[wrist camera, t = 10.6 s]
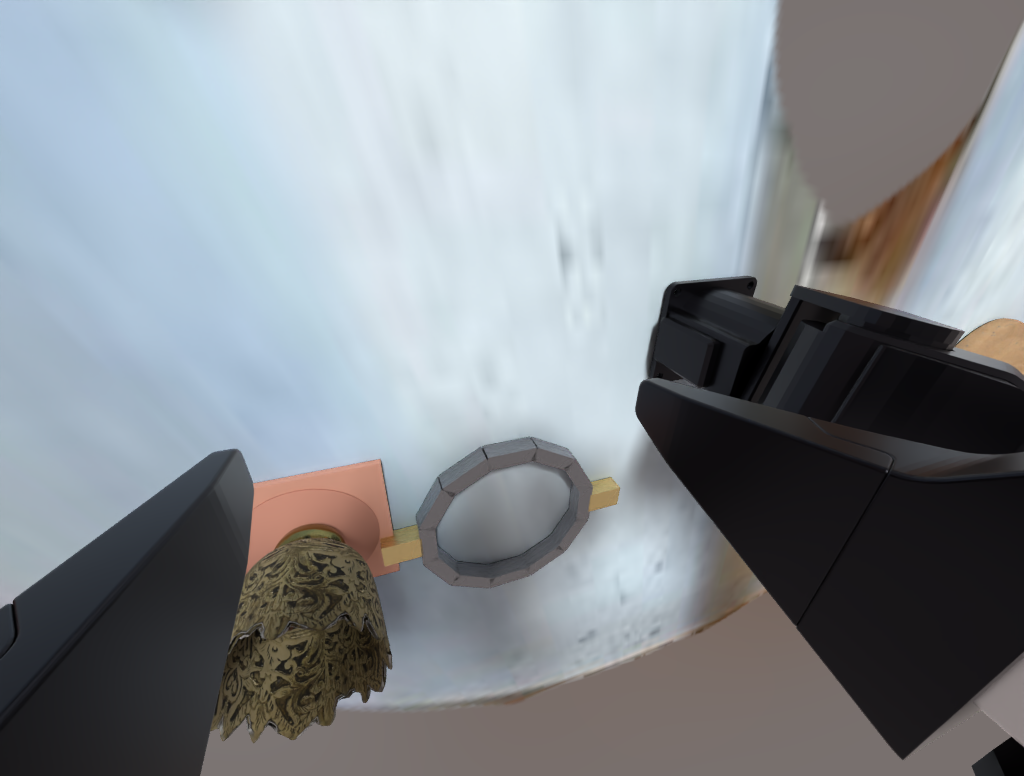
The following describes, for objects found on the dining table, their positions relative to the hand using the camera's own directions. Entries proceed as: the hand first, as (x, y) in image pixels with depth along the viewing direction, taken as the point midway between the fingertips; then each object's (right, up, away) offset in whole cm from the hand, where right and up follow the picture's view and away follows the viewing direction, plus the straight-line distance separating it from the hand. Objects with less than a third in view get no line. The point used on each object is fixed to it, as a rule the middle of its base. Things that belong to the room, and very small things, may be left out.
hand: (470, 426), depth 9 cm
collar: (0, -8, +19) cm, 21 cm away
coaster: (-11, -8, +15) cm, 20 cm away
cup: (-11, -8, +14) cm, 20 cm away
